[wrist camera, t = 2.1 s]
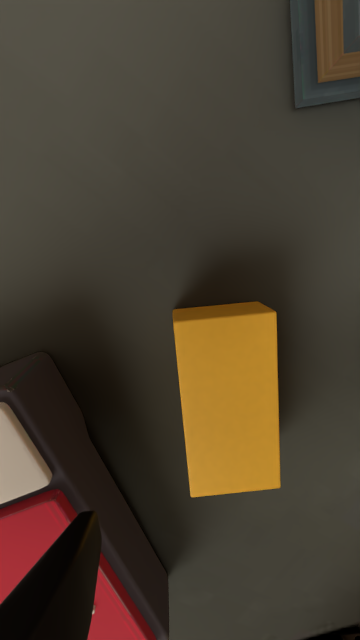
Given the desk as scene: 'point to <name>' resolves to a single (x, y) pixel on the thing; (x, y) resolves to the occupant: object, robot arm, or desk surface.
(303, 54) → the decorative book
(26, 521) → the calculator
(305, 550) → the desk surface
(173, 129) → the desk surface
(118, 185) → the desk surface
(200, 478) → the block
